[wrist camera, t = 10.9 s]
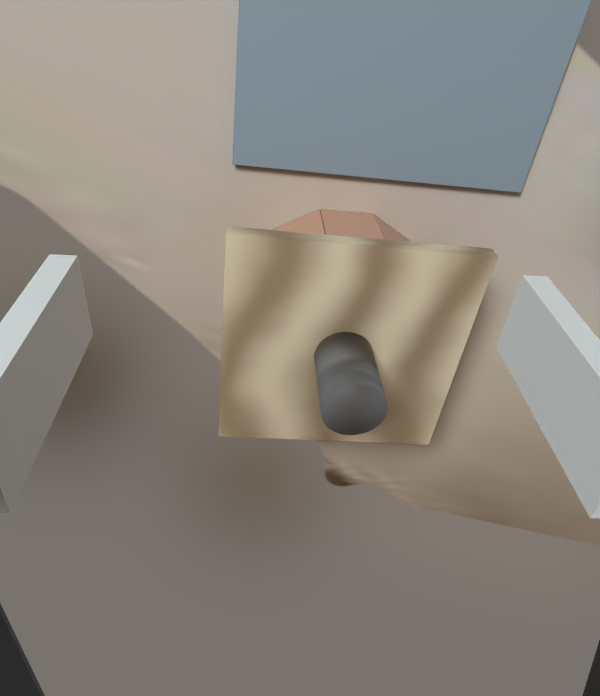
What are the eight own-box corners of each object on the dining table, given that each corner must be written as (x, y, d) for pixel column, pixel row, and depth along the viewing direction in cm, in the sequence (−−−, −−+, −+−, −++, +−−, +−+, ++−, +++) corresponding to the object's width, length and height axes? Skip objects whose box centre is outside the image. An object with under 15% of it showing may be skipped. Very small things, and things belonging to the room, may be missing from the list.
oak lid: (491, 248, 37) (534, 304, 31) (425, 434, 47) (448, 501, 41) (226, 226, 35) (219, 281, 29) (219, 425, 45) (213, 495, 39)
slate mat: (663, -211, 29) (669, -214, 28) (517, 189, 42) (520, 192, 41) (251, -292, 26) (251, -296, 26) (232, 161, 39) (232, 164, 39)
